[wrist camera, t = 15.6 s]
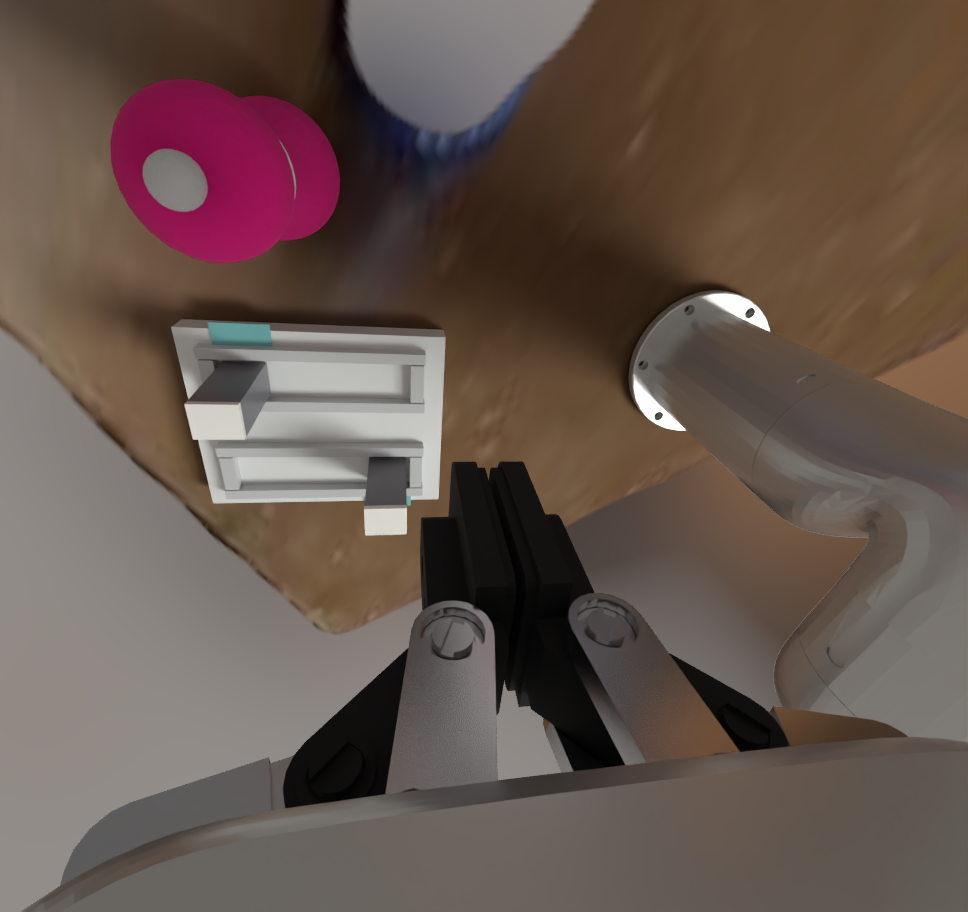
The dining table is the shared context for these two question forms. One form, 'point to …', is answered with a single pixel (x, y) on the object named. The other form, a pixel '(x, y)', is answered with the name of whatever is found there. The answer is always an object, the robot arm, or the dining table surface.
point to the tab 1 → (228, 401)
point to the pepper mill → (222, 169)
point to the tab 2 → (386, 496)
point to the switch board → (322, 408)
